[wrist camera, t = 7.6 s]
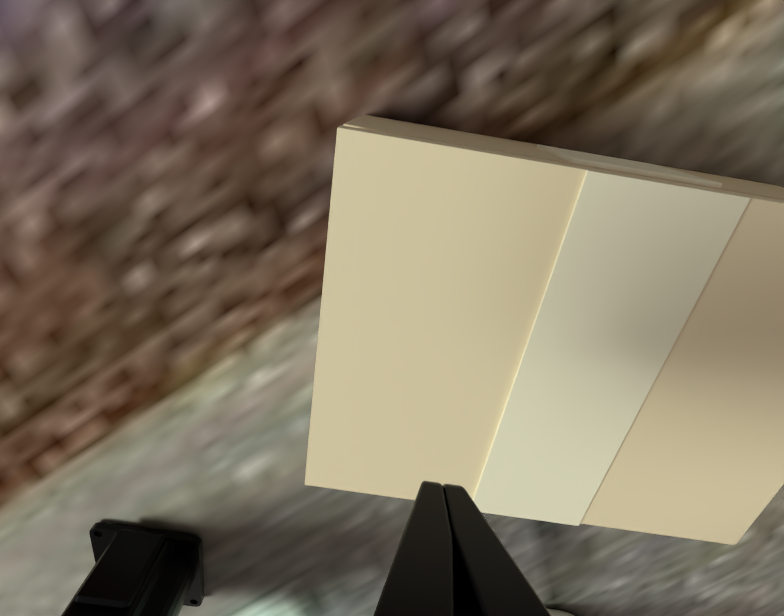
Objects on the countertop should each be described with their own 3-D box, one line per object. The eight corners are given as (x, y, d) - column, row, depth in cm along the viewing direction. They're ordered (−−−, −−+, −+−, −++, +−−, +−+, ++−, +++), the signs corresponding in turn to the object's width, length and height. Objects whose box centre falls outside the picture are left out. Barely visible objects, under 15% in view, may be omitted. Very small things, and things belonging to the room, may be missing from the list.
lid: (724, 530, 17) (737, 548, 16) (308, 471, 16) (303, 487, 16) (954, 229, 12) (985, 238, 11) (341, 125, 11) (336, 127, 10)
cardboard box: (647, 424, 23) (723, 528, 17) (333, 377, 22) (308, 469, 17) (772, 181, 17) (938, 220, 12) (364, 111, 17) (343, 118, 11)
